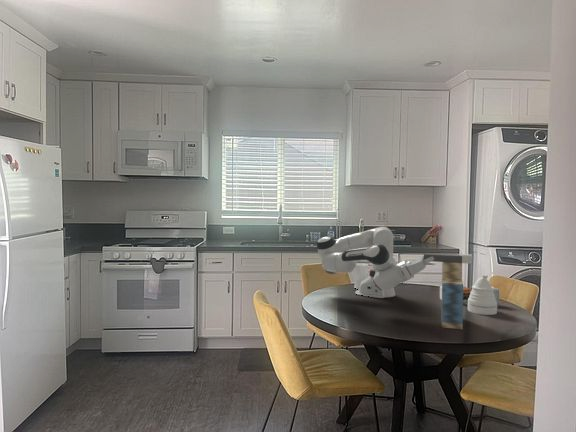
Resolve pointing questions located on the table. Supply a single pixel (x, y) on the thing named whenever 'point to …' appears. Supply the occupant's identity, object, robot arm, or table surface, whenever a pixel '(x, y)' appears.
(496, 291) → the medicine box
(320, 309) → the table surface
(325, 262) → the robot arm
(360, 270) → the cup
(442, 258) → the dark gray bar
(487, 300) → the honey pot
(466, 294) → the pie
